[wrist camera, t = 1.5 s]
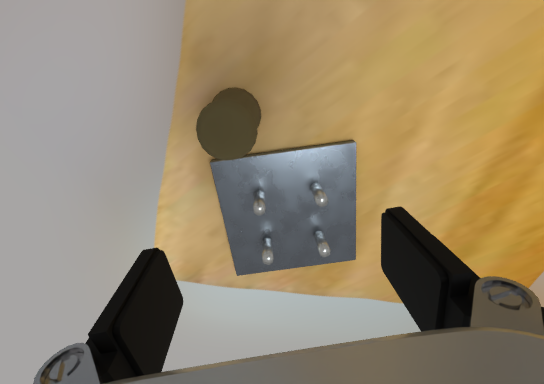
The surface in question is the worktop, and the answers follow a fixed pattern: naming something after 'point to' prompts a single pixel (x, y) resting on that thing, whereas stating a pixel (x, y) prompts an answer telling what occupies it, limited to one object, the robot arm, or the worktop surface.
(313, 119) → the worktop surface
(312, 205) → the pin plate
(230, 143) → the olive tapered piece
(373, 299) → the worktop surface
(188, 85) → the worktop surface
